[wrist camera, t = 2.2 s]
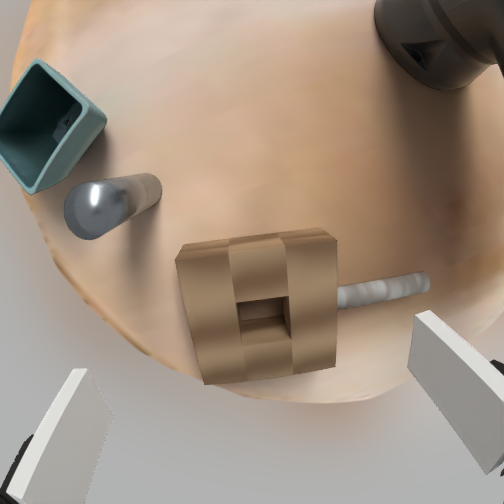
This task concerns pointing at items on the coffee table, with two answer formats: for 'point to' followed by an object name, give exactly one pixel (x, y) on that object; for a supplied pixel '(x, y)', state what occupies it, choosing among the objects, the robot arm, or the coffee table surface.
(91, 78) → the coffee table surface
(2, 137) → the flower pot
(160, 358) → the coffee table surface
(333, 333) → the block
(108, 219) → the grey metal peg
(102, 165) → the coffee table surface
